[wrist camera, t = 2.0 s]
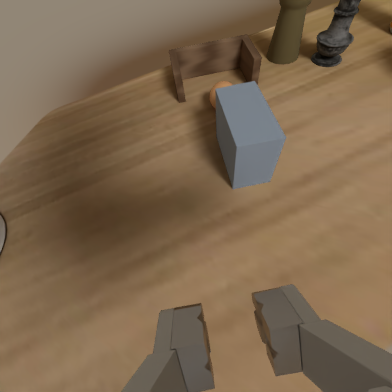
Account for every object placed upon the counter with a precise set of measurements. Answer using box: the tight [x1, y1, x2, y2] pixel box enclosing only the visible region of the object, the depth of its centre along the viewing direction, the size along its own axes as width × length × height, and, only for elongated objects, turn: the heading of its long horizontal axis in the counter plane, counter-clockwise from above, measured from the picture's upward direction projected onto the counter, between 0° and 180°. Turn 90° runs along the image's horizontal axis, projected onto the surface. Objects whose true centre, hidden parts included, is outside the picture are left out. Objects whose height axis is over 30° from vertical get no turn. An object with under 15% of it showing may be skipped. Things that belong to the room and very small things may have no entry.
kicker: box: [215, 81, 286, 189], centre depth 27 cm, size 5×10×8 cm, turn 10°
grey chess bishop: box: [311, 0, 361, 67], centre depth 34 cm, size 6×6×12 cm
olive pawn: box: [267, 0, 312, 64], centre depth 37 cm, size 6×6×11 cm
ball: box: [210, 81, 232, 109], centre depth 34 cm, size 4×4×4 cm
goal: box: [169, 35, 262, 103], centre depth 38 cm, size 14×8×5 cm, turn 100°
